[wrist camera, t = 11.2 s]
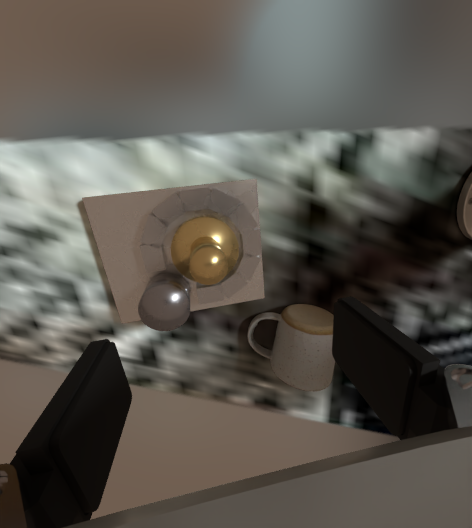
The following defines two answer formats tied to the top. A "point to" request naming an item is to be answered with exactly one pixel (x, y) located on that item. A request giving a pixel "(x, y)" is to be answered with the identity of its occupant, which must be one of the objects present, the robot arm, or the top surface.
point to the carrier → (159, 249)
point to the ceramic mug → (300, 346)
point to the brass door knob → (204, 249)
